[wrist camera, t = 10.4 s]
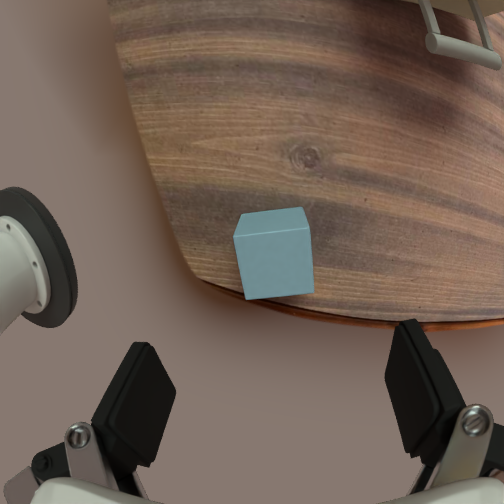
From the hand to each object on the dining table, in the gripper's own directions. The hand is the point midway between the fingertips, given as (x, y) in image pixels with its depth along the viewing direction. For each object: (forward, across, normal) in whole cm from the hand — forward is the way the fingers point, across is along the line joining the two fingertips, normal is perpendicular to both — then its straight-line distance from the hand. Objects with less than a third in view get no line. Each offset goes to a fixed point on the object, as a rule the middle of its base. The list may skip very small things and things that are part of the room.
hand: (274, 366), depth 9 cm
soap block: (+12, 0, 0) cm, 12 cm away
